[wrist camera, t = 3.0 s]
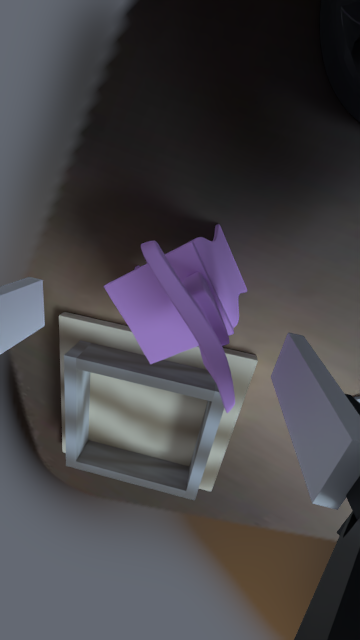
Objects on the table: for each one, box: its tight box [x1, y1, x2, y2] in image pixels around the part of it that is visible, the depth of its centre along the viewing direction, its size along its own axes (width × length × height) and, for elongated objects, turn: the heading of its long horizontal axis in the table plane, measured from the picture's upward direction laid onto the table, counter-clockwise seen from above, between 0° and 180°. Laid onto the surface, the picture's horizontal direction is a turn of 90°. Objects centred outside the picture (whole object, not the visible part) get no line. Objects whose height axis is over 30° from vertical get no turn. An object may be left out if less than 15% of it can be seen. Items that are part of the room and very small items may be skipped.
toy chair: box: [104, 224, 247, 413], centre depth 16 cm, size 8×9×15 cm
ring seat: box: [59, 312, 258, 500], centre depth 28 cm, size 20×20×4 cm
